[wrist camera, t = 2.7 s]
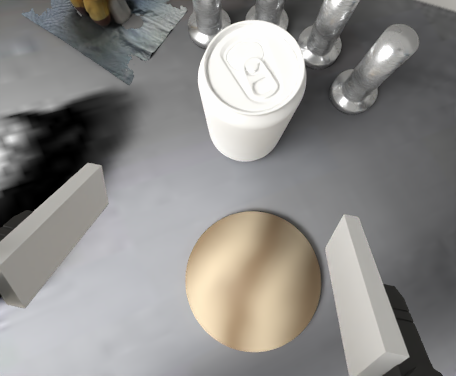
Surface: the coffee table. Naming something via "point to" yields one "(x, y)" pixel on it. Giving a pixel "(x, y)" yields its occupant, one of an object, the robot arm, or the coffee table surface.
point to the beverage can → (250, 87)
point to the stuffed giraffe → (110, 29)
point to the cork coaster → (253, 281)
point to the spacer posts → (321, 45)
